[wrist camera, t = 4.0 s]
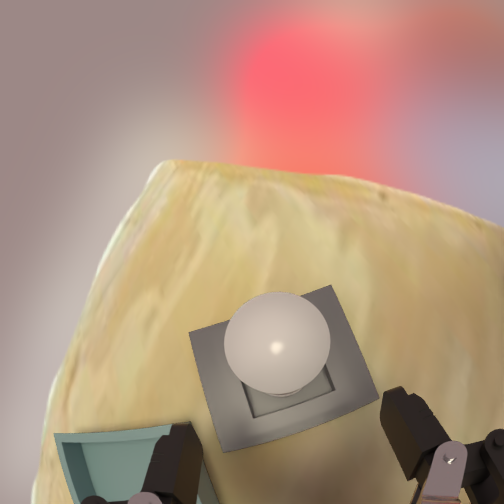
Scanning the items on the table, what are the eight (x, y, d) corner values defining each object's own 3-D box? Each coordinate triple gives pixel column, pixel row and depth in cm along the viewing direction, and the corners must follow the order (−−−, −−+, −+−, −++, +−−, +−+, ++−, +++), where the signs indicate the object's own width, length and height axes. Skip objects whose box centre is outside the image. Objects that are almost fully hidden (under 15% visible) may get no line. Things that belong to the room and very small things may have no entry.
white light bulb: (298, 334, 20) (307, 278, 12) (318, 385, 18) (346, 369, 10) (245, 352, 20) (212, 310, 12) (262, 404, 18) (241, 407, 9)
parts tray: (190, 421, 19) (174, 423, 16) (236, 542, 12) (228, 560, 9) (78, 434, 18) (53, 433, 15) (115, 540, 12) (95, 550, 9)
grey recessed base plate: (329, 289, 23) (333, 276, 21) (375, 398, 18) (386, 397, 16) (192, 335, 22) (182, 327, 20) (225, 450, 17) (218, 456, 15)
